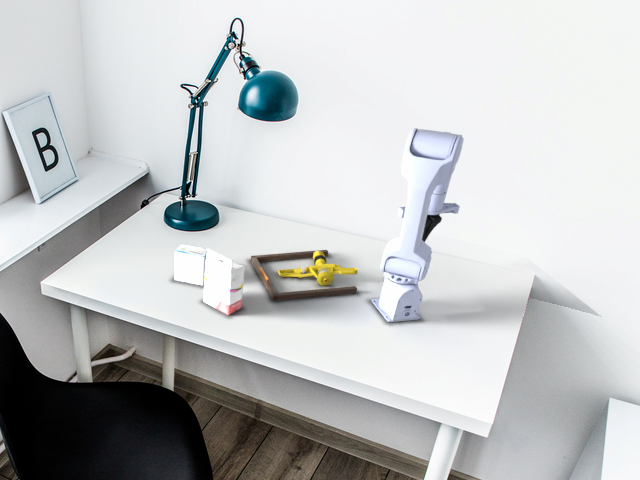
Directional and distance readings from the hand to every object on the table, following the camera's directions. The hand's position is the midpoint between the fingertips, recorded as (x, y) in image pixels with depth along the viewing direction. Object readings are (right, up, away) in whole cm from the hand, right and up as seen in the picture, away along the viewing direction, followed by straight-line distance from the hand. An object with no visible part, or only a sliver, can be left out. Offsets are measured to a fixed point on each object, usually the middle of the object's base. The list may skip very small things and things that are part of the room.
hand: (420, 240), depth 163 cm
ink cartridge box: (-51, -17, -4) cm, 53 cm away
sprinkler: (-25, -7, +7) cm, 27 cm away
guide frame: (-28, -8, +6) cm, 30 cm away
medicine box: (-57, -9, +5) cm, 58 cm away
